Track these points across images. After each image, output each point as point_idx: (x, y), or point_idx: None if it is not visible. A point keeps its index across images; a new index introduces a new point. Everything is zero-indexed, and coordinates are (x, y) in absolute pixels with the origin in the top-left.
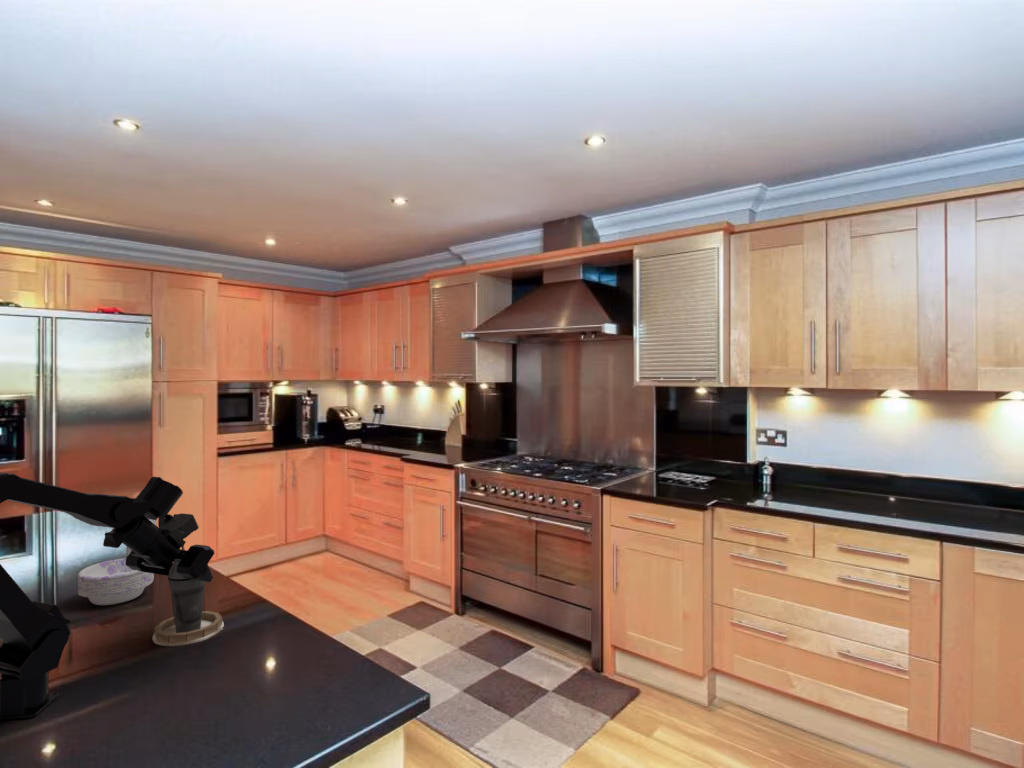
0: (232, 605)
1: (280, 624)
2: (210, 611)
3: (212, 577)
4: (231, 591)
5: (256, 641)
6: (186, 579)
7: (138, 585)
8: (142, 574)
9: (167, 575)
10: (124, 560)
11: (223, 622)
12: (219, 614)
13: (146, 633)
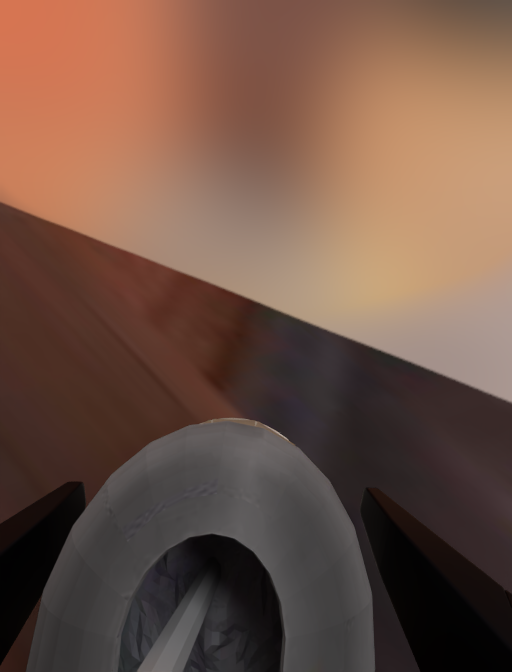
0: (205, 333)
1: (409, 390)
2: (223, 419)
3: (381, 494)
4: (140, 274)
5: (461, 499)
6: None
7: None
8: None
9: (19, 631)
10: None
11: (284, 437)
12: (269, 430)
13: None
